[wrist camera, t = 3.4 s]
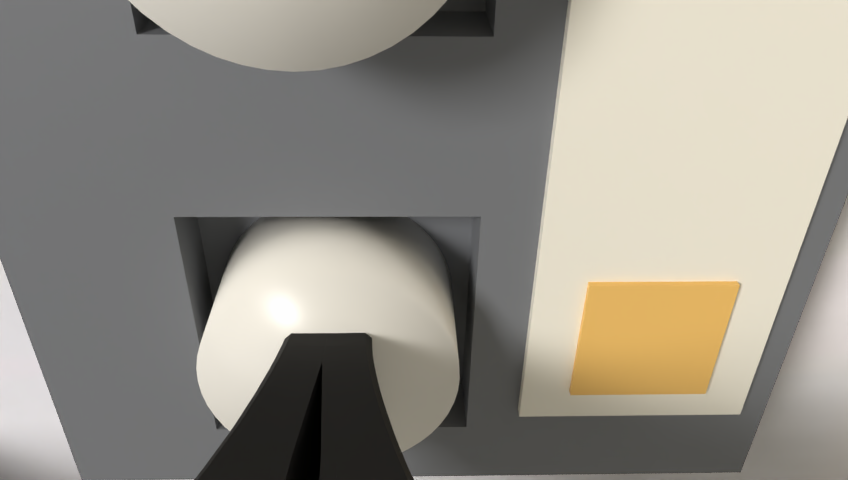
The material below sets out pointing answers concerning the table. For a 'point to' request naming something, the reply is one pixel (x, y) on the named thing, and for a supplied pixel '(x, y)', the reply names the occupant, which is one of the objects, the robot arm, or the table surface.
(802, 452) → the table surface
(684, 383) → the button board
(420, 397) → the button
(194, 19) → the middle button
